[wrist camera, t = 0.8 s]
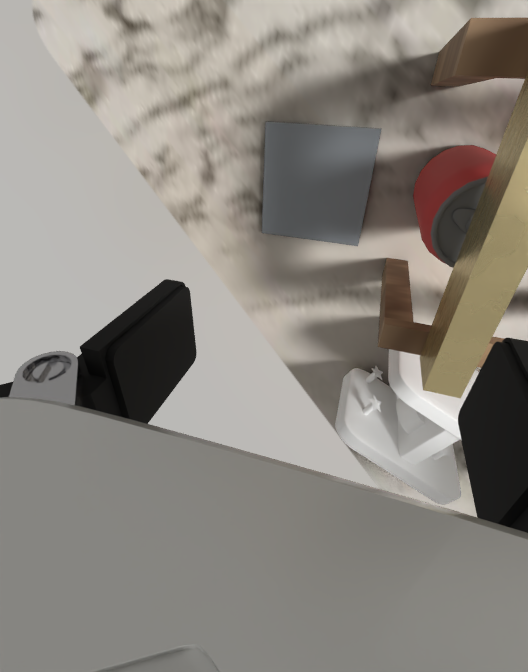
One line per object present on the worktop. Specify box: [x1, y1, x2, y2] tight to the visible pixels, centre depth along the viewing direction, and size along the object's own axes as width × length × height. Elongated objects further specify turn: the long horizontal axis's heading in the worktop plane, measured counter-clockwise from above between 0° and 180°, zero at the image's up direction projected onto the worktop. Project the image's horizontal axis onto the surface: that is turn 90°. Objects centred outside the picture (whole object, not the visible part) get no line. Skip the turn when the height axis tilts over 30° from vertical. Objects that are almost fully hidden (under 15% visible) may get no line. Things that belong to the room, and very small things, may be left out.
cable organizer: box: [335, 349, 479, 505], centre depth 36 cm, size 15×11×12 cm
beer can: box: [413, 145, 496, 268], centre depth 25 cm, size 7×7×12 cm
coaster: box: [262, 121, 382, 246], centre depth 33 cm, size 10×10×1 cm
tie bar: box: [420, 73, 528, 398], centre depth 18 cm, size 2×18×4 cm, turn 178°
